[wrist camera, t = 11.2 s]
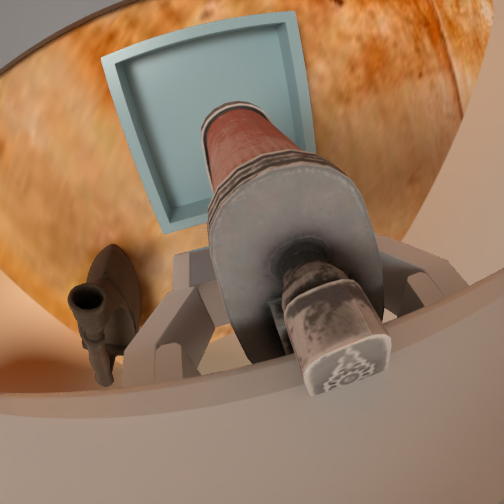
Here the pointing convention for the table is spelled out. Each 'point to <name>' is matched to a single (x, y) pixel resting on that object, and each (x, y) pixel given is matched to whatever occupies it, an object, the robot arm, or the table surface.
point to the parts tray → (204, 101)
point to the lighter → (292, 252)
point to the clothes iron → (107, 310)
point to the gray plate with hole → (43, 23)
